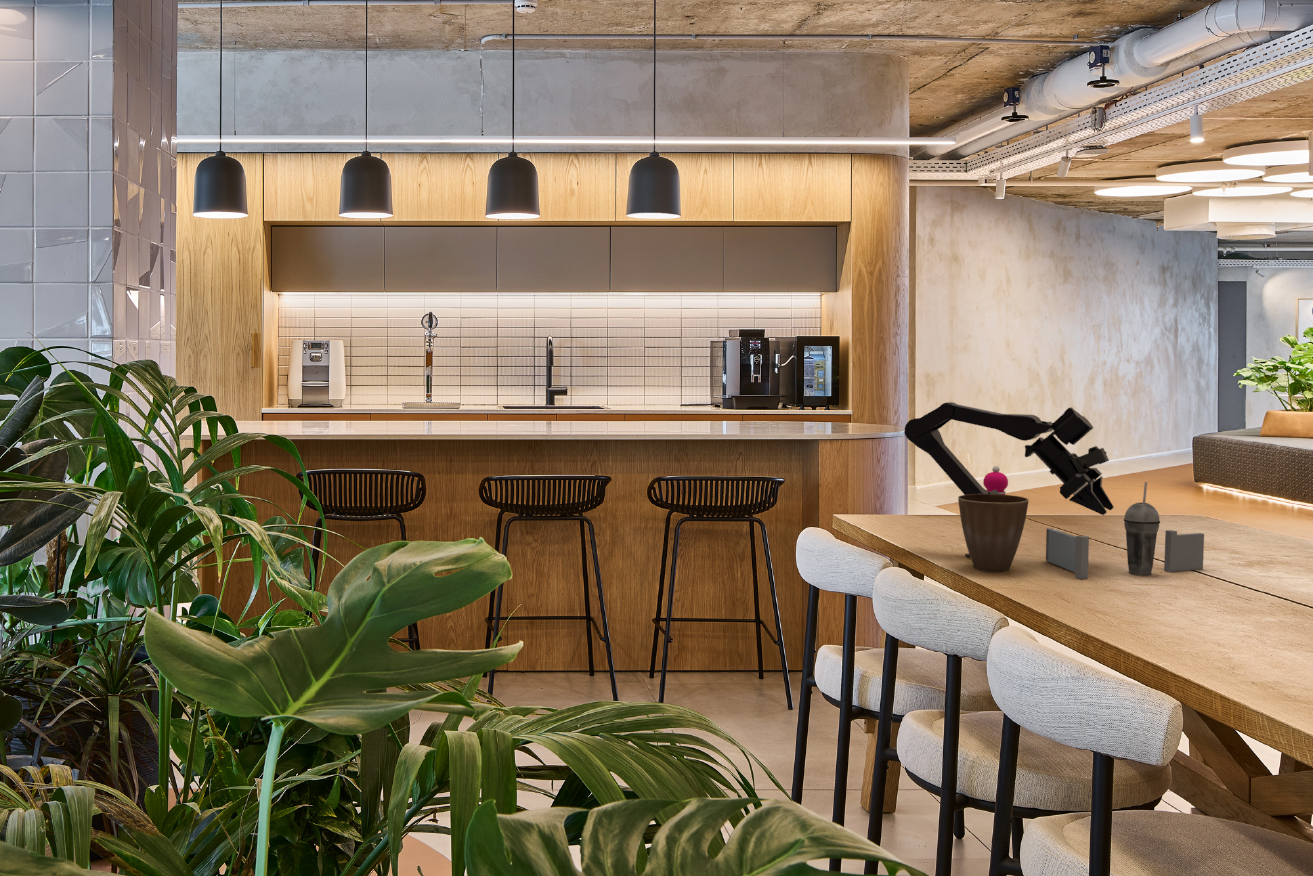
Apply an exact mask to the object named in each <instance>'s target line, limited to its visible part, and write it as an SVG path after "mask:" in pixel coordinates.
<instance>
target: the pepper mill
mask: <svg viewBox="0 0 1313 876" xmlns="http://www.w3.org/2000/svg"><path fill="white" fill-rule="evenodd" d="M1000 469H1001V468H1000V467H999V466H997V465H994V466H993V467H992V471H991V472H989V473H988V472H987V473H986V474H985V476H984V477H983V481H982V483H983V487H984V489H985V490H987V491H988V492H991V491H993V490H997V492H998V493H999V494H1000V495H1006V493H1007V492H1006V489H1007V488H1008V487H1009V486H1008V485H1009V479H1008V477H1007V476H1006V474H1004V473H1003V472H1000Z"/></svg>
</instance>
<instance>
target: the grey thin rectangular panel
mask: <svg viewBox="0 0 1313 876" xmlns="http://www.w3.org/2000/svg"><path fill="white" fill-rule="evenodd" d="M1045 533H1046V534H1045V535H1046V538H1045V539H1046V540H1045V541H1046V542H1045V543H1046V544H1045V562H1049V563H1051V564H1053V565H1056V566H1059V567H1060V568H1063V569H1065V570H1067V571H1071V572H1073V573H1075V557H1076V536H1077V535H1076V536H1075V535H1072V534H1069V533H1066V532H1064V531H1060V530H1058V529H1054V528H1050V527H1049V528H1046V532H1045Z"/></svg>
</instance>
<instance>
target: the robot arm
mask: <svg viewBox="0 0 1313 876" xmlns="http://www.w3.org/2000/svg"><path fill="white" fill-rule="evenodd" d="M950 421H956V422H961V423H966V424H969V425H970V424H971V425H976V426H979V427H983V428H989V429H994V430H996V431H999V432H1001V433H1004V434H1005V435H1008V436H1010V437H1012V438H1014V439H1016V440H1020V441H1023V442H1024V441H1030V440H1034V439H1036V440H1035V441H1034V442H1033V443H1032V444H1026V445H1024V448H1025V449H1024V458H1030V457H1032V456H1033V455H1034V454H1035V455H1036V456H1037V458H1039V460H1040V461H1042V462H1043V464H1044V465H1045V466H1046V467H1047V469H1049V473H1050V474H1051V475H1052V476H1053V475H1054V476H1056V477H1057V478H1058V479H1059V481H1061V482H1062V485H1061V486H1060V487H1059V494H1060V495H1061V496H1062V497H1063V498H1064V500H1067V499H1068V500H1069V502H1073V503H1075V504H1077V505H1079V506H1082V507H1083V508H1086V509H1089V510H1090V511H1093V512H1094V513H1097V514H1099V515H1101V516H1104V515H1106V514H1107V513H1108V511H1112V510H1114V507H1115V506H1114V505H1113V502H1112V501H1111V499H1110V498H1109V496H1108V495H1107V493H1106V491H1105V490H1104V488H1103V478H1104V477H1103V476H1102V475H1103V473H1102V472H1101V471H1100V470H1099V469H1098V468H1097V467H1095V466H1096V465H1101V464H1104V463H1107V462H1109V461H1110V459H1109V457H1108V455H1107V451H1106V450H1105V448H1104V447H1102V448H1101V447H1100V448H1099V447H1098V446H1096V445H1095V446H1093V447H1089V448H1088V453H1085V454H1083V455H1080V456H1078V455H1077V454H1076V452H1075V453H1073V452H1072V453H1071V451H1070V450H1068V449H1067V447H1065V445H1066V446H1068V445H1069V444H1071V445H1072V446H1075V445H1076V444H1077V443H1078V442H1079V441H1081V440H1082V438H1083V437H1085V436H1087V435H1088V433H1089V432H1091V431H1092V430H1093V429H1094V426H1093V425H1092V423H1091V422H1090V421H1089V420H1088V418H1086V417H1085V416H1083V415H1081V414H1080V412H1078V411H1077V410H1075V409H1074V408H1073V407H1068V408H1067V409H1066V410H1065V411H1064V412H1063V413H1062V414H1061V415H1060V416H1059V417H1058V418H1057V419H1056V420H1054V422H1052V421H1046V420H1045V421H1044V420H1041V418H1040V417H1039V416H1038V415H1035V414H1021V413H1019V414H1018V413H1017V414H1016V413H1002V412H1001V413H1000V412H996V411H990V410H986V409H981V408H977V407H971V406H969V405H968V406H967V405H962V404H958V403H955V402H953V401H949V402H943V403H942V404H940V406H938V407H937V408H935V409H932V411H930V412H927V413H926V414H924V415H922V416H921V417H916V418H915V417H914V418H912V419H910V420H908V421H907V423H906V424H905V427H904V431H903V433H904V436H905V438H906V439H907V440H909V441H910V442H911V443H912V444H913V445H914V446H916V448H919V449H920V450H922V451H923V452H925V453H926V454H928V455H929V456H930V457H931V458H932V459H933V460H934V462H935V463H936V464H937V465H938V466H939V467H940V469H942V471H943V472H944V473H945V474H946V475H947V476H948V478H949V479H950V480H951V481H952V482H953V483H954V485H955V486H956V487H957V488H958V489H959V490H960V491H961V493H962V495H969V494H999V493H998V492H997V490H993V491H991V492H988V491H987V489H986V488H985V487H984V486H982V485H981V484H980V483H979V481H978V479H976V478H975V477H974V476H973V475H972V473H971V472H970V471H969V470H968V468H966V467H965V466H964V464H963V463H962V461H960V460H959V459H958V458H957V456H955V454H954V453H953V452H952V451H951V450H950V449H949V447H948V446H947V445H946V444H945V442H944V440H943V436H942V433H941V432H940V431H939V429H941V428H943V426H945V425H946V424H948V423H949V422H950ZM1046 433H1049V435H1047V436H1046V437H1045V438H1044V437H1041V434H1046ZM1058 439H1059V440H1058ZM1063 444H1064V445H1063ZM1093 466H1094V467H1093ZM1072 495H1073V496H1072ZM1107 510H1108V511H1107ZM964 557H968V558H970V555H969V552H968V553H964Z"/></svg>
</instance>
